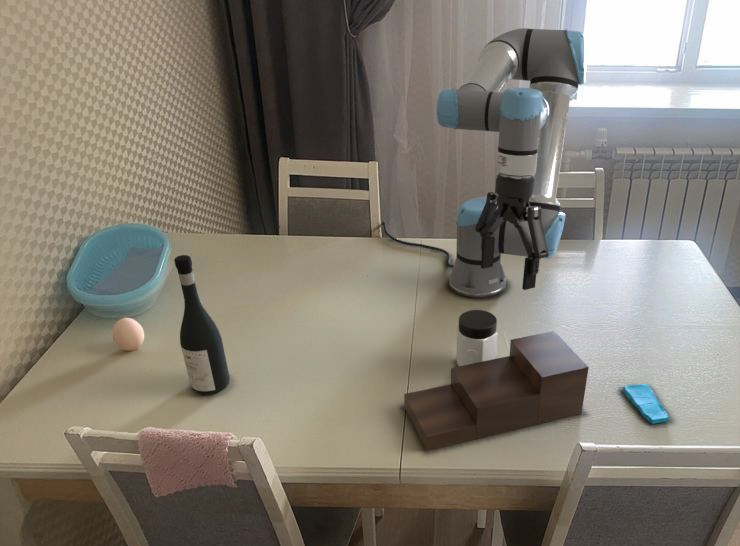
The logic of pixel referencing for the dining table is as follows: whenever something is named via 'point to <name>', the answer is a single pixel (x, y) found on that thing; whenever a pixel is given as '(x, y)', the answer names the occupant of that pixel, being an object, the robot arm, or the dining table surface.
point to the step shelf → (502, 393)
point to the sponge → (646, 402)
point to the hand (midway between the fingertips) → (507, 277)
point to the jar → (476, 337)
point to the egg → (128, 334)
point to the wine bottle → (200, 338)
